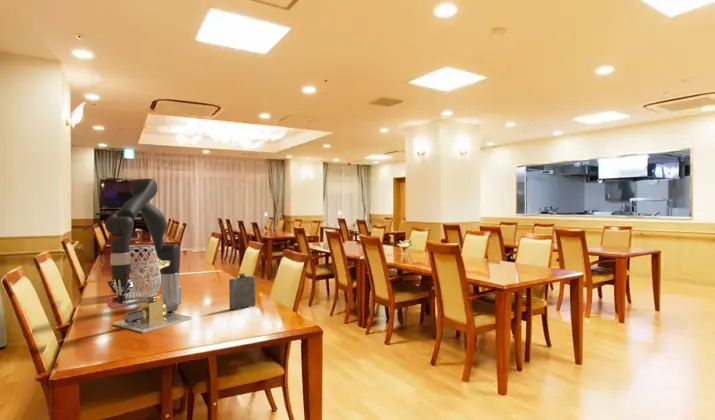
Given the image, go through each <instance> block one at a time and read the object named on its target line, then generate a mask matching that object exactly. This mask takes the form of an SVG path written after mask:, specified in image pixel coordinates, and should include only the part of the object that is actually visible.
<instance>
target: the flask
mask: <svg viewBox="0 0 715 420" xmlns="http://www.w3.org/2000/svg"><path fill="white" fill-rule="evenodd" d="M238 276H239V277H235V278H234V277H233V278H229V280H228V282H229V284H228V285H229V287H228V289H229V290H228V291H229V292H228V293H229V298H228V299H229V310H230V309H235V310H238V309H237V308H240V309H243V308H242V307H245V308H248V307H247V306H252V307H255V305H256V303H257V300H256V275H252V276H250V275H246V273H245V272H244V273H239V274H238ZM256 306H257V305H256Z"/></svg>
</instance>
